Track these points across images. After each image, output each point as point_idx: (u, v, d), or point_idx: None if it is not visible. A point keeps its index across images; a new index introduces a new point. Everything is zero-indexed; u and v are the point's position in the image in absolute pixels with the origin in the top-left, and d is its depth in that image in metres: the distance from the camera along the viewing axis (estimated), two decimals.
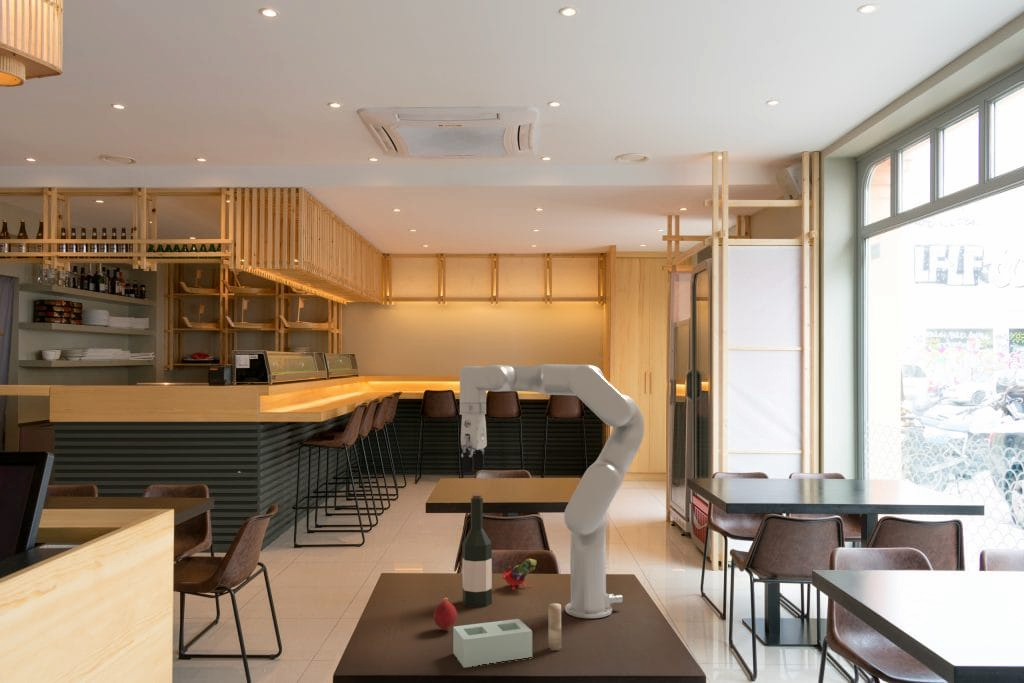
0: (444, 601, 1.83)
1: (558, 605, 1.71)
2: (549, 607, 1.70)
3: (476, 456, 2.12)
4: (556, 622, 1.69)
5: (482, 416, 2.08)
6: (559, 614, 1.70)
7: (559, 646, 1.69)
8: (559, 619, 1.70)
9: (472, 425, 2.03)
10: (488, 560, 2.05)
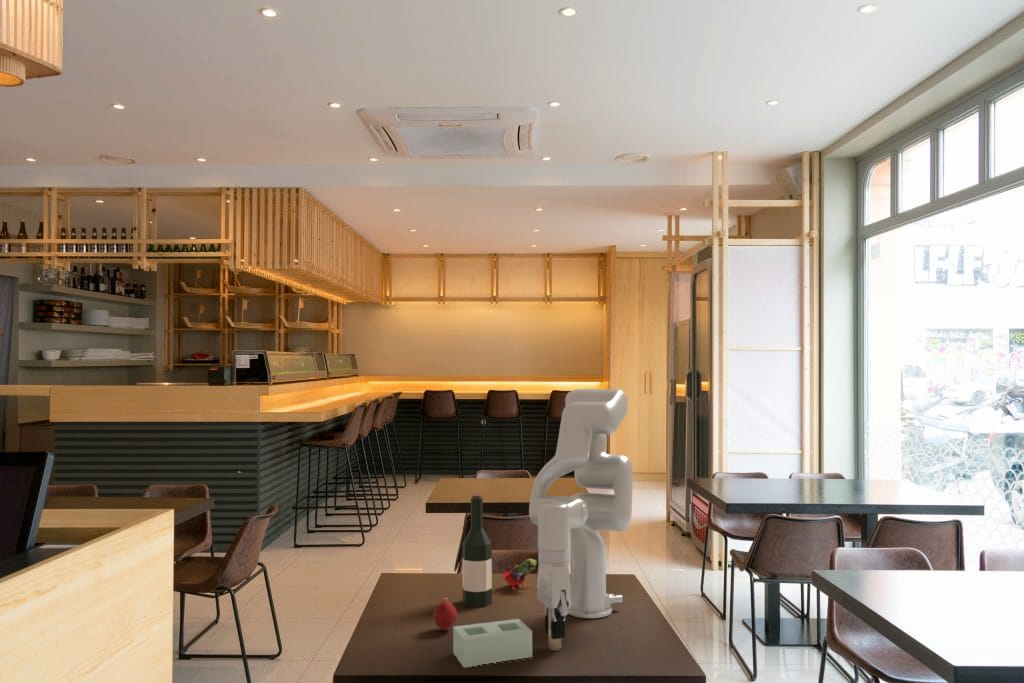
0: (444, 601, 1.83)
1: (558, 605, 1.71)
2: None
3: None
4: None
5: (544, 566, 1.70)
6: None
7: (559, 646, 1.69)
8: None
9: None
10: (488, 560, 2.05)
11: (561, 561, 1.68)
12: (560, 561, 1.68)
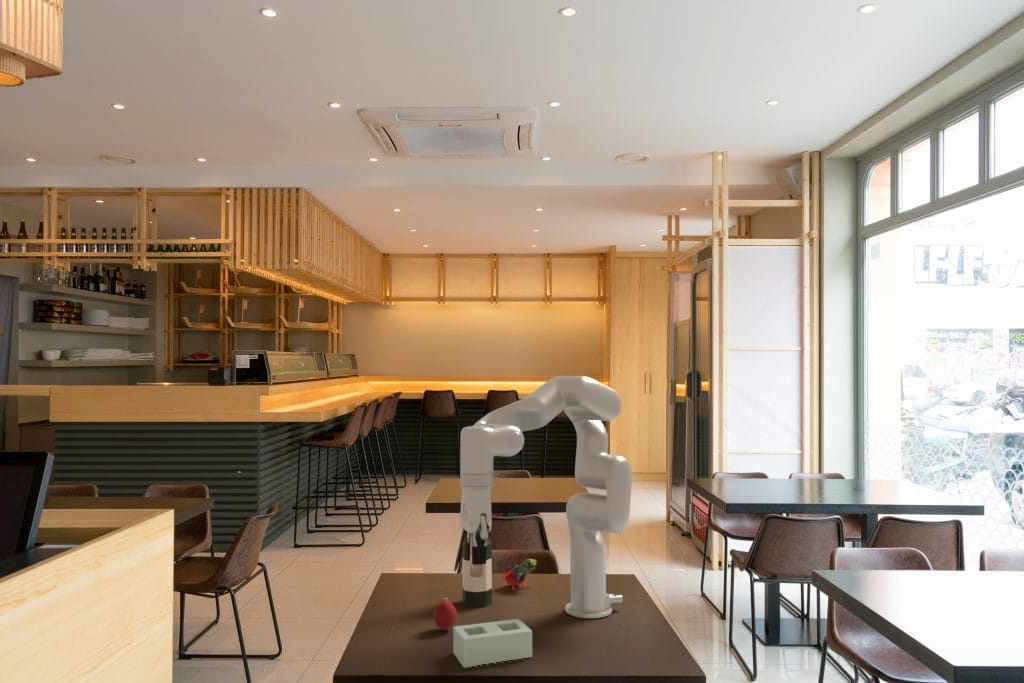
0: (444, 601, 1.83)
1: (480, 531, 1.66)
2: None
3: None
4: None
5: (466, 490, 1.66)
6: None
7: (480, 572, 1.65)
8: None
9: None
10: (488, 560, 2.05)
11: (482, 485, 1.64)
12: (481, 484, 1.64)
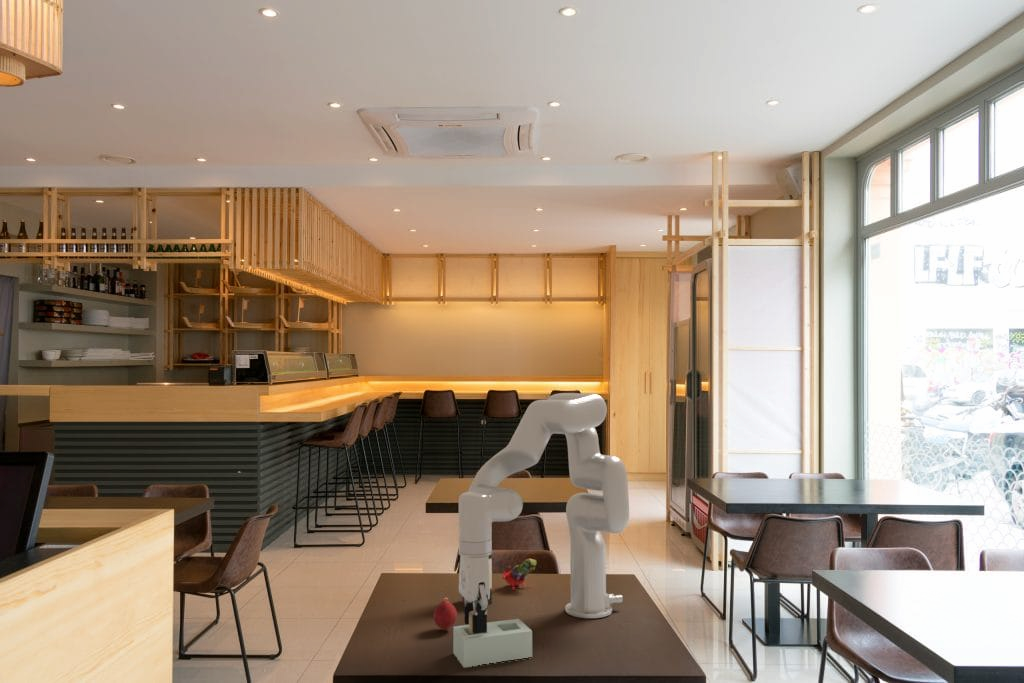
0: (444, 601, 1.83)
1: None
2: (469, 615, 1.65)
3: None
4: None
5: (464, 557, 1.65)
6: None
7: None
8: None
9: None
10: None
11: (481, 552, 1.63)
12: (480, 552, 1.63)
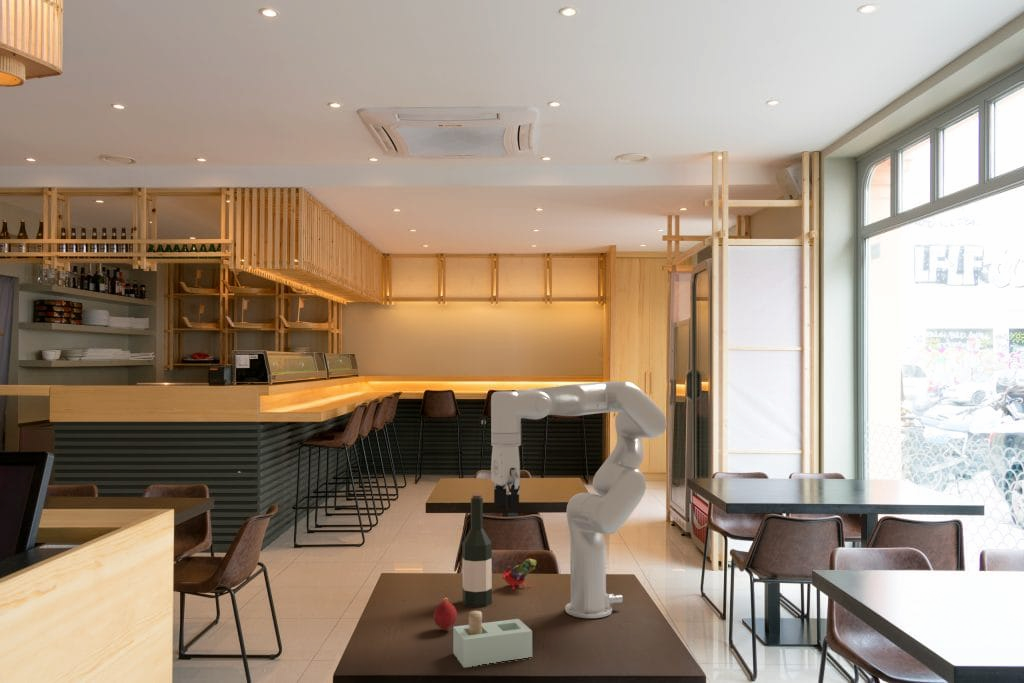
0: (444, 601, 1.83)
1: (479, 613, 1.66)
2: (469, 615, 1.65)
3: None
4: (476, 630, 1.64)
5: (496, 448, 1.85)
6: (479, 622, 1.65)
7: None
8: (479, 627, 1.65)
9: None
10: (488, 560, 2.05)
11: (511, 442, 1.84)
12: (510, 442, 1.83)
